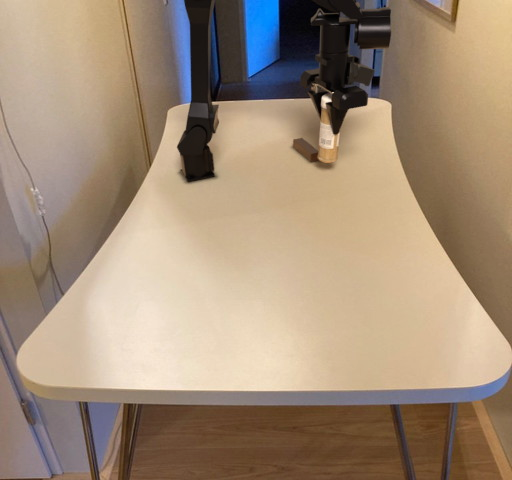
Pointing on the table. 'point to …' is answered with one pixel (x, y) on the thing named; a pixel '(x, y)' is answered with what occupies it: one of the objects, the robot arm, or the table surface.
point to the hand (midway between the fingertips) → (330, 130)
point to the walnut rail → (305, 149)
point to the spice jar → (327, 135)
